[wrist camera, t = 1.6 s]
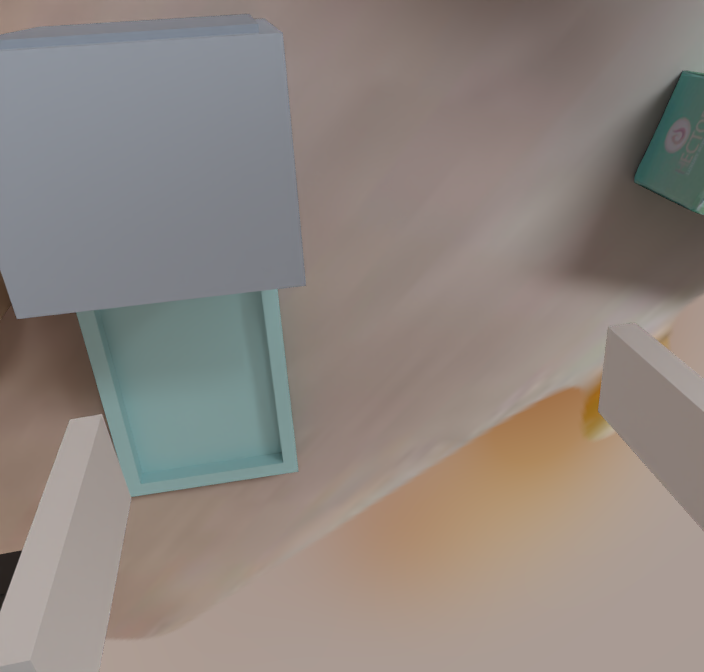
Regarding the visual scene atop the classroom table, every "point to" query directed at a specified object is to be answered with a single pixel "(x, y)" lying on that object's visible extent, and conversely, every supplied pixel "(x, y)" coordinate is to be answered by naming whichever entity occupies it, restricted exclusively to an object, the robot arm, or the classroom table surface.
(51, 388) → the classroom table surface
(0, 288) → the walnut dowel
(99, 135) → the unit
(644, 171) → the box
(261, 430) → the tray
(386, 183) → the classroom table surface
